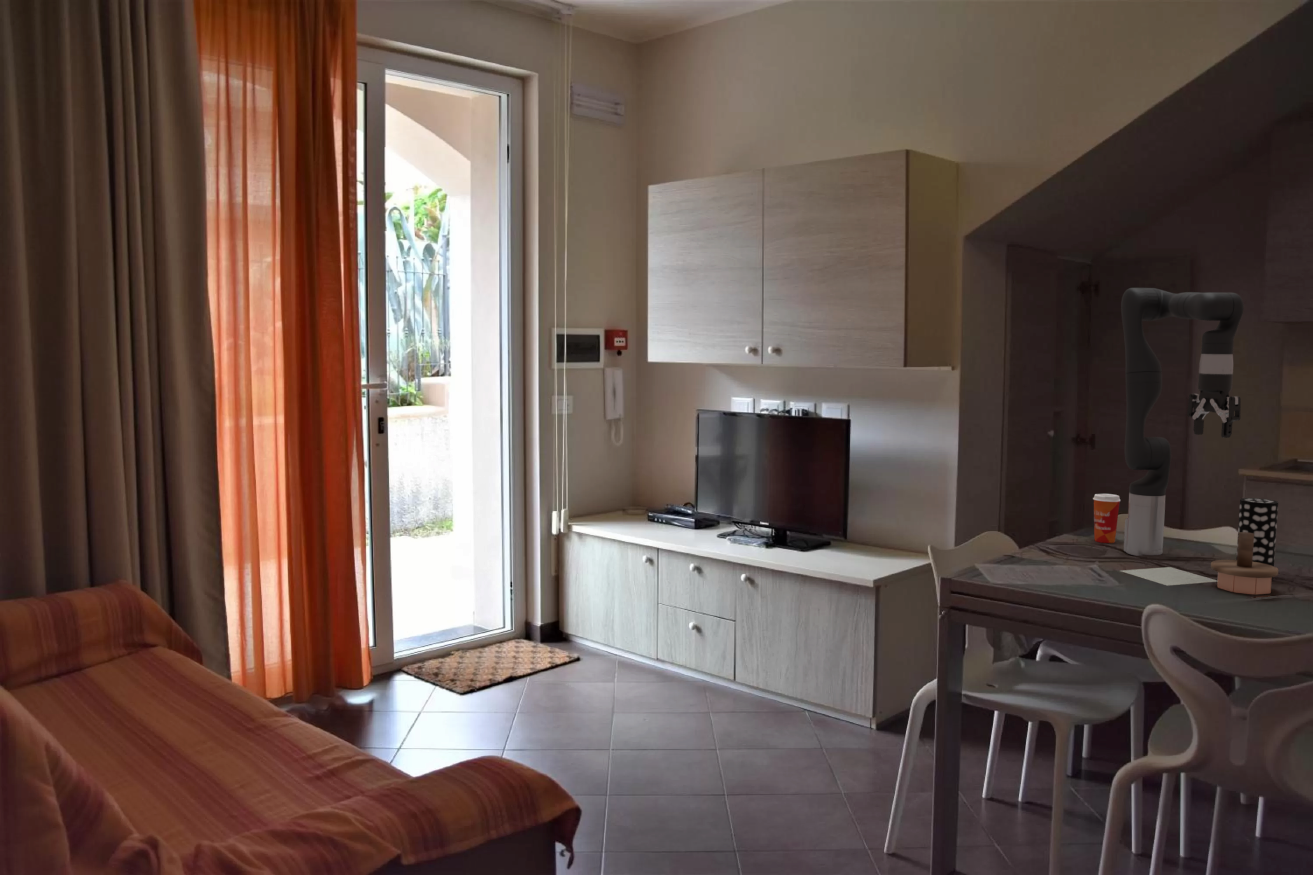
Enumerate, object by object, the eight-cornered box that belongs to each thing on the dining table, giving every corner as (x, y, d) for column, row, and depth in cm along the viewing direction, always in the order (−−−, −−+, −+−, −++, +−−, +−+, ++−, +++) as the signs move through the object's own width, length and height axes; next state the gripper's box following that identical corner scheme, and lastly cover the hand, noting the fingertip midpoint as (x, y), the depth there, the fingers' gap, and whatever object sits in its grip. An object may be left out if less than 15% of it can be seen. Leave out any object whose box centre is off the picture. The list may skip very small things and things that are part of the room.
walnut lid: (1197, 566, 246) (1199, 529, 245) (1242, 562, 250) (1245, 526, 249) (1245, 579, 232) (1247, 540, 231) (1292, 575, 236) (1295, 537, 235)
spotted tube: (1227, 575, 257) (1232, 499, 255) (1251, 573, 260) (1256, 497, 258) (1257, 583, 250) (1262, 504, 248) (1280, 580, 253) (1286, 502, 251)
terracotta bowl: (1206, 587, 245) (1207, 567, 245) (1242, 584, 248) (1243, 564, 248) (1244, 598, 235) (1245, 577, 234) (1281, 595, 238) (1282, 574, 237)
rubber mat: (1119, 573, 259) (1119, 570, 259) (1169, 569, 263) (1170, 566, 263) (1166, 588, 244) (1167, 585, 244) (1219, 584, 248) (1219, 581, 248)
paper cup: (1085, 539, 303) (1087, 493, 302) (1105, 538, 305) (1108, 492, 304) (1103, 544, 296) (1106, 497, 294) (1124, 543, 298) (1127, 496, 297)
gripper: (1251, 373, 247) (1247, 438, 249) (1205, 371, 261) (1201, 433, 262) (1227, 373, 245) (1223, 439, 246) (1181, 371, 258) (1178, 433, 260)
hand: (1211, 435), depth 254 cm, fingers open, 8 cm apart
